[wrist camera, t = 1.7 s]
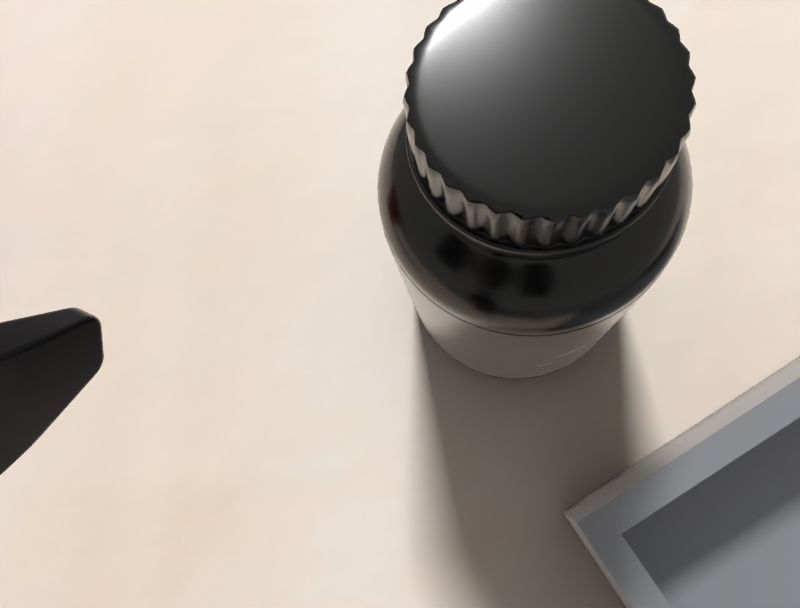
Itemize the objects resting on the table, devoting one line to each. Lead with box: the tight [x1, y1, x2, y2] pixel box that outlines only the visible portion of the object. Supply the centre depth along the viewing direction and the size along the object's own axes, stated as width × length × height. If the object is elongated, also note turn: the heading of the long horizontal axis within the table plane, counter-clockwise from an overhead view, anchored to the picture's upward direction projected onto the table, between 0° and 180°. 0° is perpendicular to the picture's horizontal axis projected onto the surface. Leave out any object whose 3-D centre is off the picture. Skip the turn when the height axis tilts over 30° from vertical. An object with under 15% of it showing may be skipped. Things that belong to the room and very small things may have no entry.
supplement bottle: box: [378, 0, 696, 378], centre depth 16 cm, size 7×7×12 cm
